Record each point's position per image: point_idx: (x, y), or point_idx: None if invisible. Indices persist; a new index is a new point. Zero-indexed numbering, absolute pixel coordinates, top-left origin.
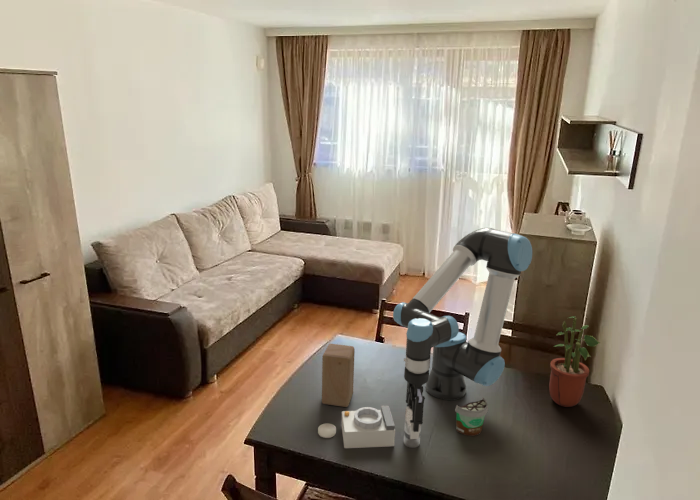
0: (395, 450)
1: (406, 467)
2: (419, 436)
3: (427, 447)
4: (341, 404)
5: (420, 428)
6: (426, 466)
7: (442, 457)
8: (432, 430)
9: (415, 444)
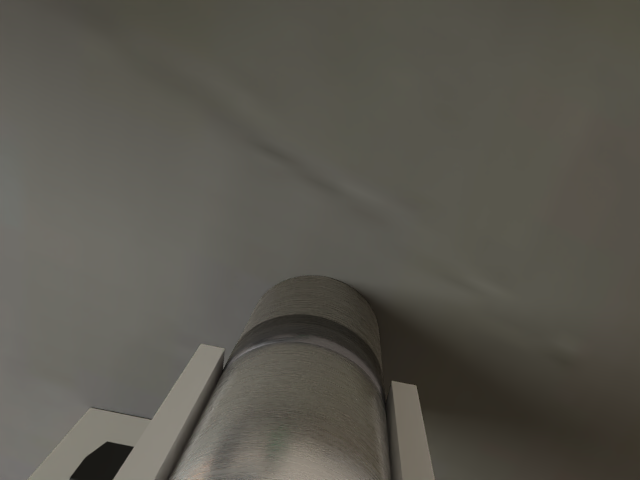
0: None
1: (560, 465)
2: (368, 351)
3: (409, 241)
4: None
5: (357, 406)
6: (618, 343)
7: (582, 169)
8: (189, 91)
9: (380, 348)
